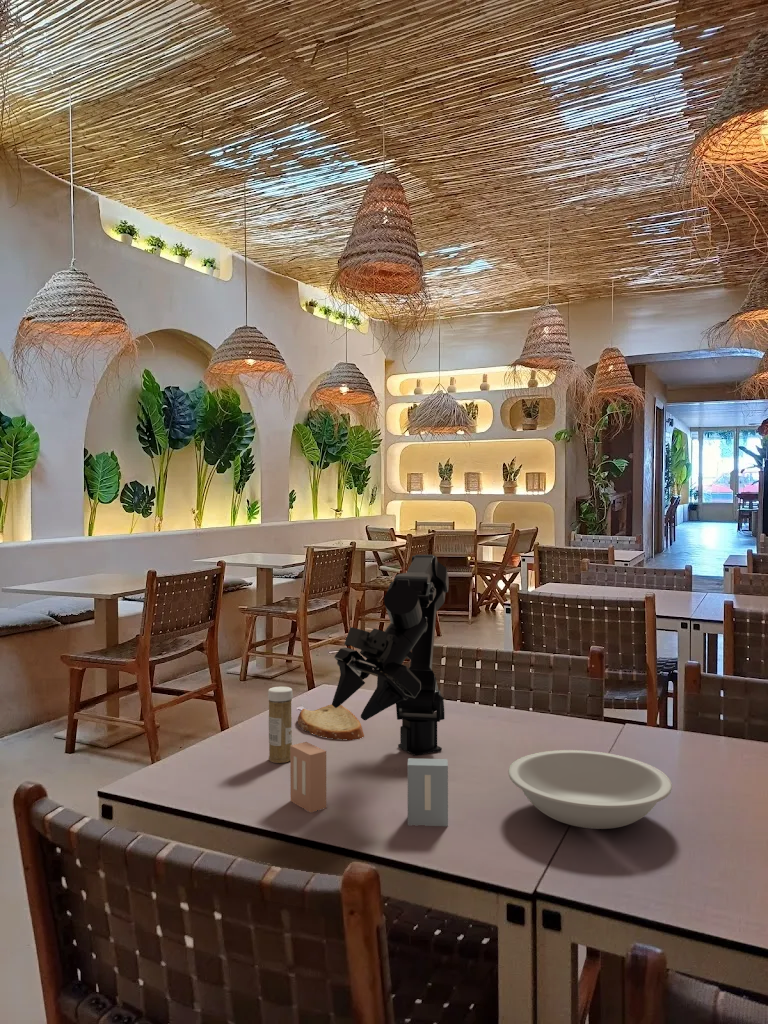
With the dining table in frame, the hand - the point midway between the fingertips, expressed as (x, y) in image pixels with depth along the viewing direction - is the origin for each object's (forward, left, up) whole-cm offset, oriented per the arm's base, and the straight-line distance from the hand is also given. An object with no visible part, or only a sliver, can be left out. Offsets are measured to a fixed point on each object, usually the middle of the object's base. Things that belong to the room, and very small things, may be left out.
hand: (347, 712), depth 124 cm
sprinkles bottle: (+4, -20, -13) cm, 25 cm away
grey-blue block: (-5, +17, -13) cm, 22 cm away
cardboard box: (+8, +2, -13) cm, 16 cm away
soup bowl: (-27, +28, -13) cm, 41 cm away
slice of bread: (-14, -35, -14) cm, 40 cm away
